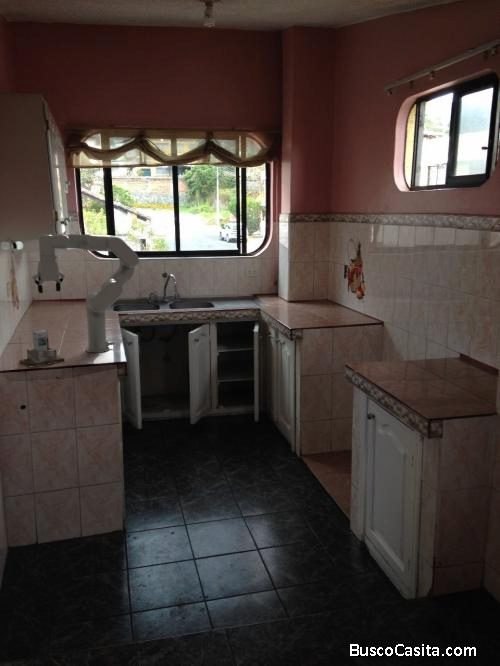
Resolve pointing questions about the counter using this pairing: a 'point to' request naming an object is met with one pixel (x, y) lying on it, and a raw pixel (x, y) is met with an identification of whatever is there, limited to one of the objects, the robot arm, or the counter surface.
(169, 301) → the counter surface
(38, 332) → the syrup box
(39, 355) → the collar stand
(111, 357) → the counter surface
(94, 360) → the counter surface
